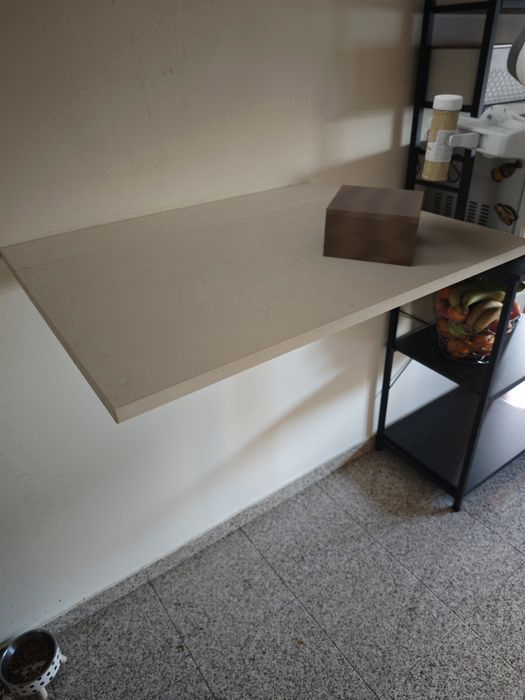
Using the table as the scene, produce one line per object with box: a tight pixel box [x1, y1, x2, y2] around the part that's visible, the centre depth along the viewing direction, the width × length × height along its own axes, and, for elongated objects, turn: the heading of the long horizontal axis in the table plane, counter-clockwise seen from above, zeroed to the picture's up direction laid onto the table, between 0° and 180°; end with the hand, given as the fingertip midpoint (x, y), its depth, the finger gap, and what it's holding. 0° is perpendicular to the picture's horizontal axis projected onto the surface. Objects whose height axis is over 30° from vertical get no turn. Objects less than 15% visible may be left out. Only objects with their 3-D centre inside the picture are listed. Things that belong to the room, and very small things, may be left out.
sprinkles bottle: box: [421, 94, 464, 182], centre depth 86 cm, size 5×5×13 cm
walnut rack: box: [322, 184, 425, 267], centre depth 95 cm, size 16×16×9 cm
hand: (437, 137), depth 85 cm, fingers closed on sprinkles bottle, 4 cm apart
